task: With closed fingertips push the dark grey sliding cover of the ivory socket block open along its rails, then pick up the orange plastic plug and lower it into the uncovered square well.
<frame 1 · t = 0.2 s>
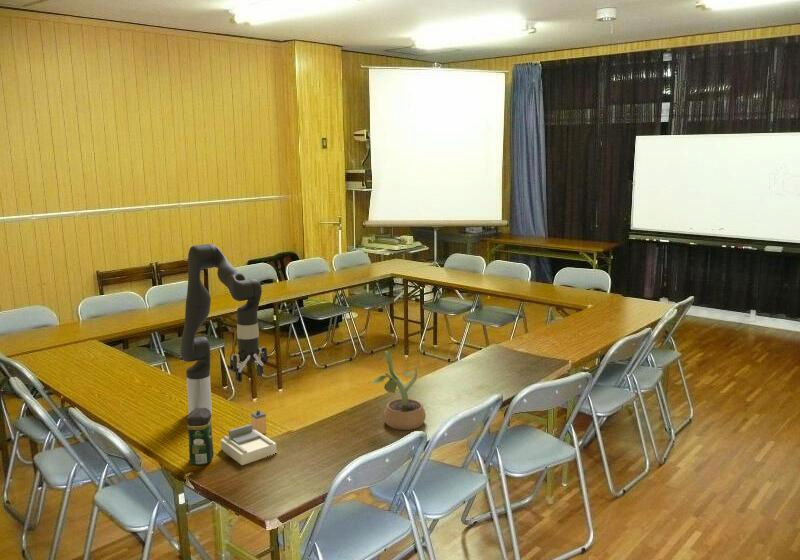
hand: (249, 378, 245), 28 cm above the table, tool pointing down, fingers open, 8 cm apart
potted plant: (397, 422, 277), on the table
plug: (259, 432, 266), on the table
coffee jar: (201, 460, 244), on the table
socket: (248, 451, 250), on the table
shutter: (244, 433, 251), point 6 cm above the table, slide at 0.0 cm
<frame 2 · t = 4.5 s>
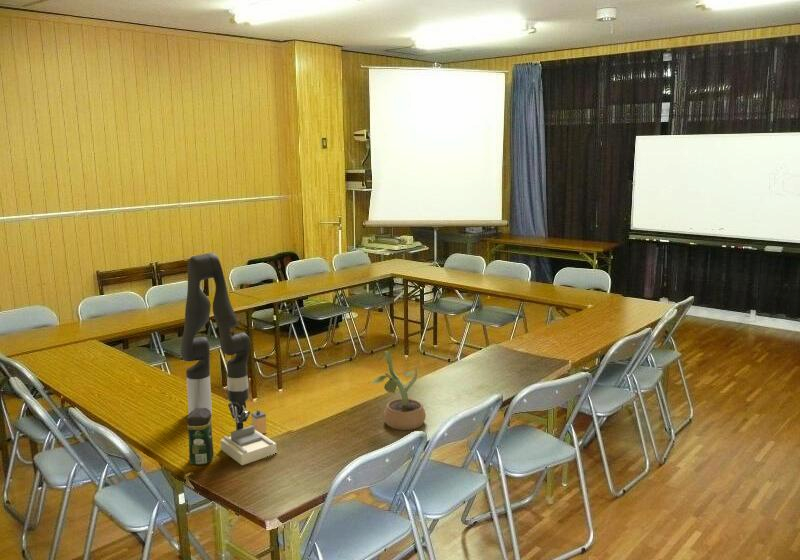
hand: (239, 431, 254), 6 cm above the table, tool pointing down, fingers closed
shutter: (246, 435, 250), point 6 cm above the table, slide at 1.6 cm, touching gripper
everything else where it was.
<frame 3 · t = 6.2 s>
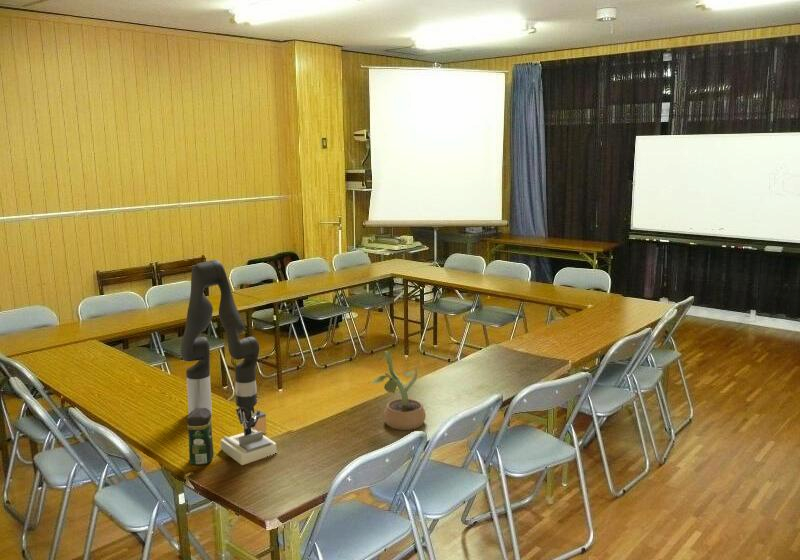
hand: (248, 436, 249), 6 cm above the table, tool pointing down, fingers closed
shutter: (254, 441, 245), point 6 cm above the table, slide at 7.8 cm, touching gripper
everything else where it was.
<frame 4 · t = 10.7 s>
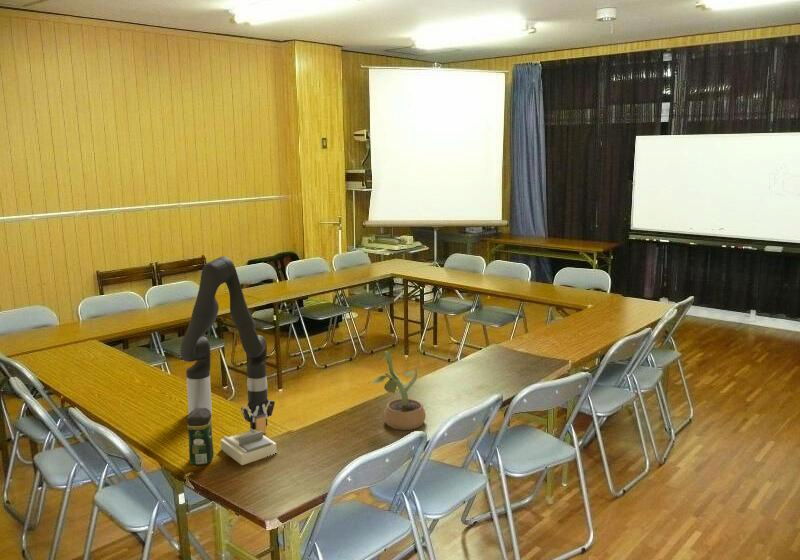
hand: (259, 428, 266), 2 cm above the table, tool pointing down, fingers closed on plug, 4 cm apart
plug: (259, 432, 266), on the table, touching gripper
shutter: (254, 441, 245), point 6 cm above the table, slide at 7.8 cm
everything else where it was.
when the fingers open (4 cm above the table, at t = 15.3 s): plug drops 3 cm, resting in socket.
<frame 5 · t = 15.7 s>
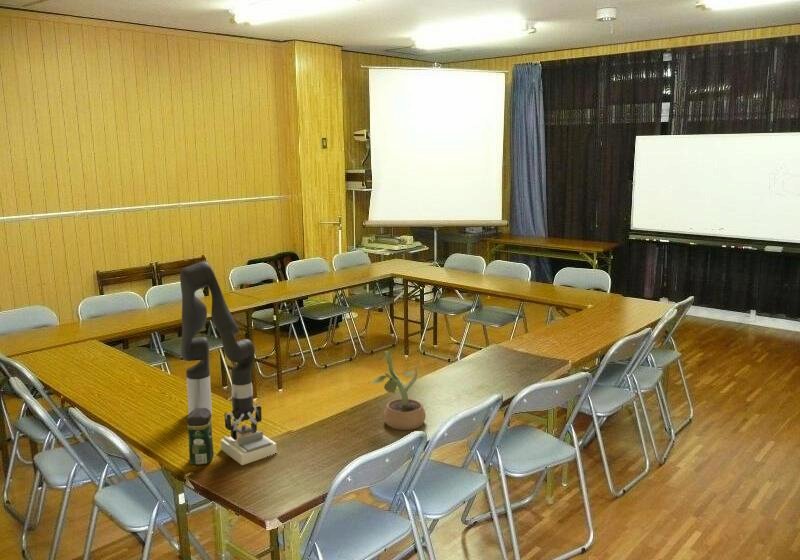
hand: (244, 436, 251), 5 cm above the table, tool pointing down, fingers open, 7 cm apart
plug: (244, 449, 252), resting in socket
everything else where it was.
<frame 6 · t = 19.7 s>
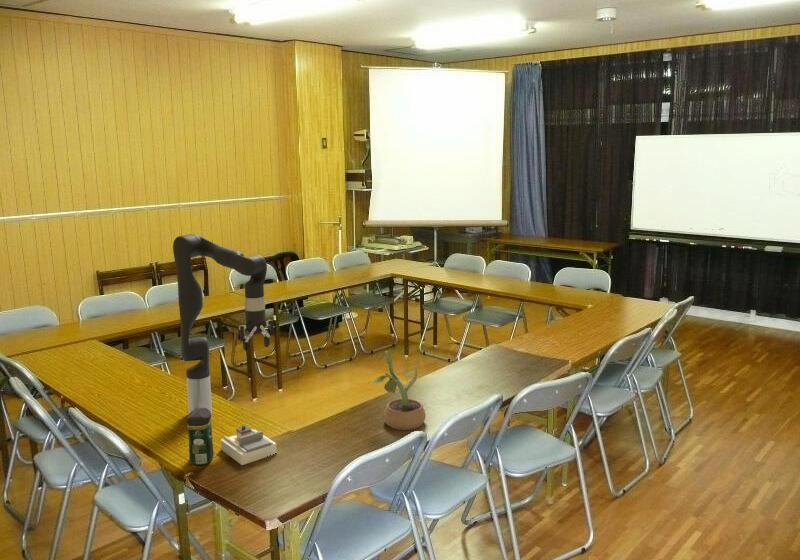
hand: (256, 348, 263), 33 cm above the table, tool pointing down, fingers open, 8 cm apart
nothing on the table moved.
at the end: plug 0.1 cm from the target spot on the socket, point 0.0 cm above the socket's base; shutter slide at 7.8 cm; the gripper is holding nothing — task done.
